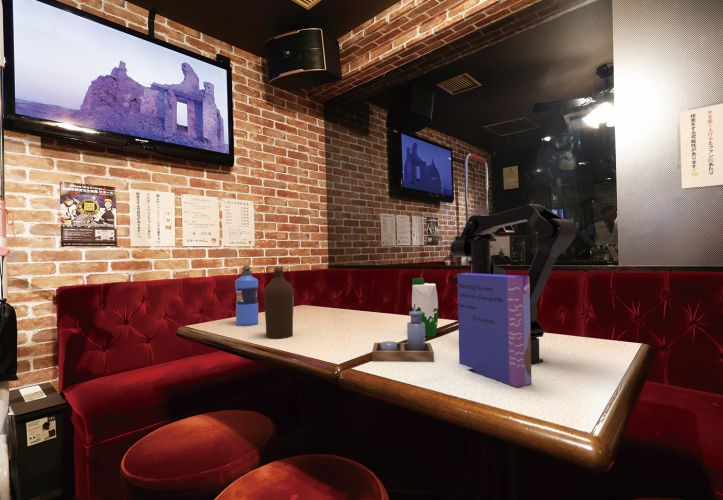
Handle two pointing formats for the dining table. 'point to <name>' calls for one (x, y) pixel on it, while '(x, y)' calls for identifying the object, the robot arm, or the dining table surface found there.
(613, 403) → the dining table surface
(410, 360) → the caddy
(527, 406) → the dining table surface
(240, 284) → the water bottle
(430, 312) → the milk carton
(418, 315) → the flask
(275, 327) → the olive oil
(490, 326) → the purple book
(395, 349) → the blue-grey round dome
